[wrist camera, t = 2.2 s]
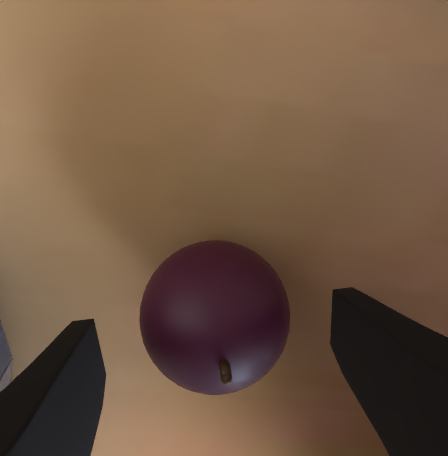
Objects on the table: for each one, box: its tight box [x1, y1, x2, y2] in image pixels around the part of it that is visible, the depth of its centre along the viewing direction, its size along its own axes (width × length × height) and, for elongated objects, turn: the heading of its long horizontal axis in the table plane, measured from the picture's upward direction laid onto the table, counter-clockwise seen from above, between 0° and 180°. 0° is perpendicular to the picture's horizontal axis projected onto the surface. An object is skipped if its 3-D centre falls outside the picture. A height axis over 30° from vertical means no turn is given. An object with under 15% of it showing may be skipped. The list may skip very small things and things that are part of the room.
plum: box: [140, 241, 290, 395], centre depth 13 cm, size 5×5×6 cm
